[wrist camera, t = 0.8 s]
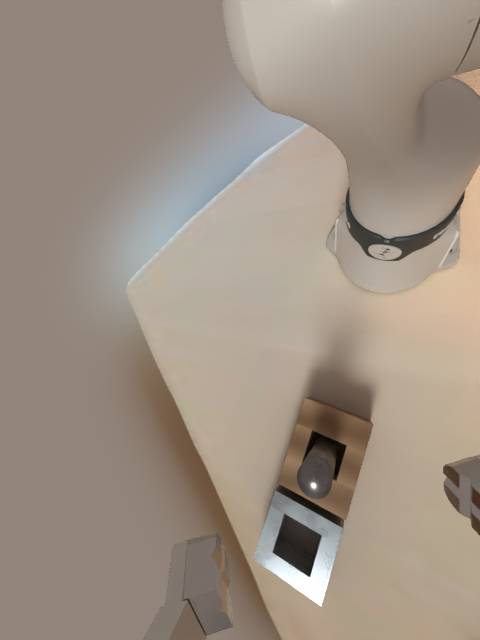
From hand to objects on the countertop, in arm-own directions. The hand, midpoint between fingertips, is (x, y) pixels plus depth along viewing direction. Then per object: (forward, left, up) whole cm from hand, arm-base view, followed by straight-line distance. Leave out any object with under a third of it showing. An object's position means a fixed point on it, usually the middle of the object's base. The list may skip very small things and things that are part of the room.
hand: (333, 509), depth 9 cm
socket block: (+16, -1, -34) cm, 38 cm away
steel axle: (+5, -1, -34) cm, 34 cm away
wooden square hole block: (+5, -1, -34) cm, 34 cm away
